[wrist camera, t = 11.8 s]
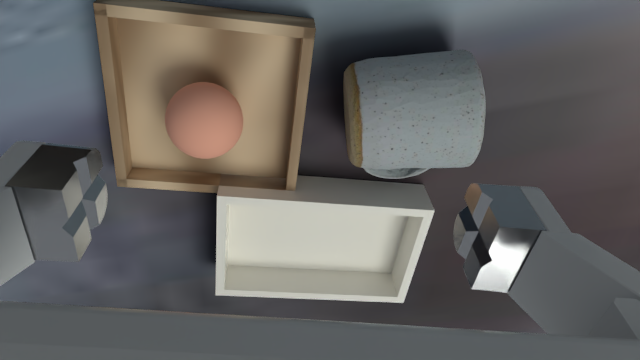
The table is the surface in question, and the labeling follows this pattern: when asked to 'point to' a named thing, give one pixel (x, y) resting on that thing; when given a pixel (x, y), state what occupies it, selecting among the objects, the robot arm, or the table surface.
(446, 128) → the ceramic mug
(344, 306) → the table surface
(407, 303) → the table surface
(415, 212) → the white storage bin
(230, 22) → the tray
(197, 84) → the ball
